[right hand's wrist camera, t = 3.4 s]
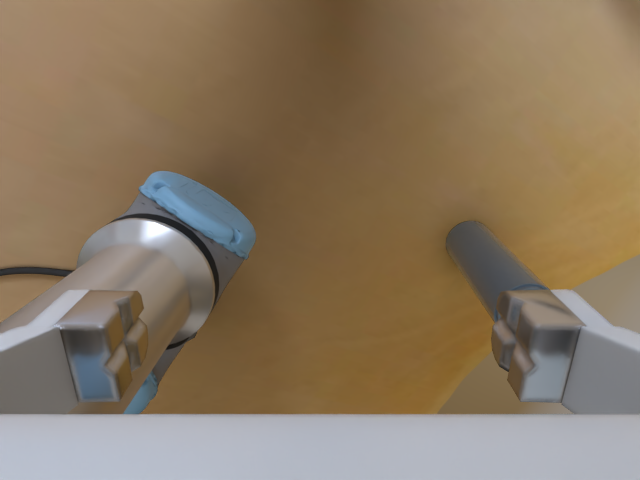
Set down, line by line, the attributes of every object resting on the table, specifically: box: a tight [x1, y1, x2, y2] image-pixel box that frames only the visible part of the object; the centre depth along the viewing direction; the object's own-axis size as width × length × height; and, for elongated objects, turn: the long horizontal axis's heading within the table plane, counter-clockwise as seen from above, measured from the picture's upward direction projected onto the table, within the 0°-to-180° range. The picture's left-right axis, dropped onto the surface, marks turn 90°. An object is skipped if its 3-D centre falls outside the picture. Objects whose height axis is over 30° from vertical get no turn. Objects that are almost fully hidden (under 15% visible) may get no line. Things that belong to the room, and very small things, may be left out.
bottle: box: [446, 221, 550, 323], centre depth 50 cm, size 6×6×24 cm
